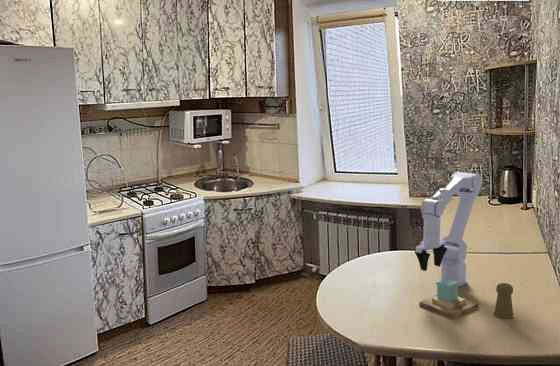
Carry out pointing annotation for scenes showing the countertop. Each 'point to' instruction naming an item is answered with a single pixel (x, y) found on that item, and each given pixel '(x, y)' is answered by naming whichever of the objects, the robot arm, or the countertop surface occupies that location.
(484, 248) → the countertop surface
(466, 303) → the walnut stand
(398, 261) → the countertop surface
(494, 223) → the countertop surface
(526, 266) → the countertop surface
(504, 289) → the salt shaker
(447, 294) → the teal block
